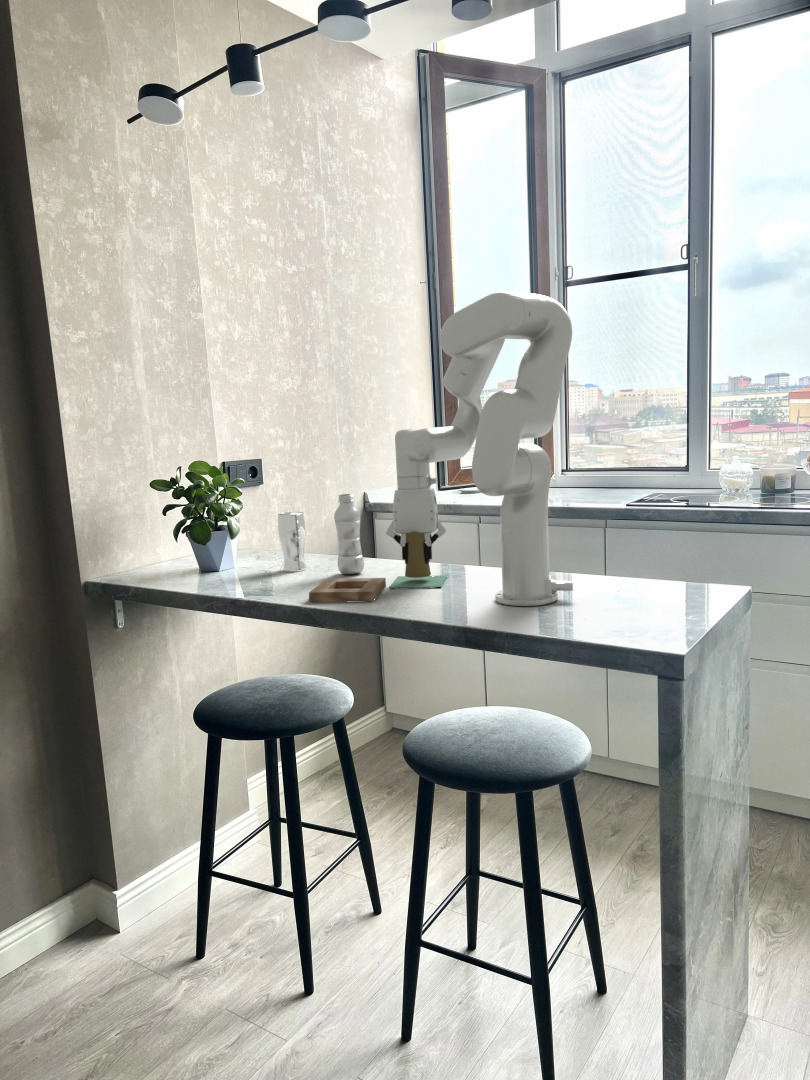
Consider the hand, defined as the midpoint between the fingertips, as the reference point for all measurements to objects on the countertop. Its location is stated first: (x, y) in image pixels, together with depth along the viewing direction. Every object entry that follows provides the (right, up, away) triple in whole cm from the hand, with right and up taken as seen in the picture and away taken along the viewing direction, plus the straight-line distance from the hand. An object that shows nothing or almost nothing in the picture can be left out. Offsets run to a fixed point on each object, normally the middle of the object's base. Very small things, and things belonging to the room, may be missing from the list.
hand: (417, 561), depth 182 cm
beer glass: (-32, -3, +25) cm, 41 cm away
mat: (0, -5, +1) cm, 5 cm away
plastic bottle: (-16, -4, +16) cm, 23 cm away
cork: (0, -3, +1) cm, 3 cm away
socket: (-15, -7, -8) cm, 18 cm away
